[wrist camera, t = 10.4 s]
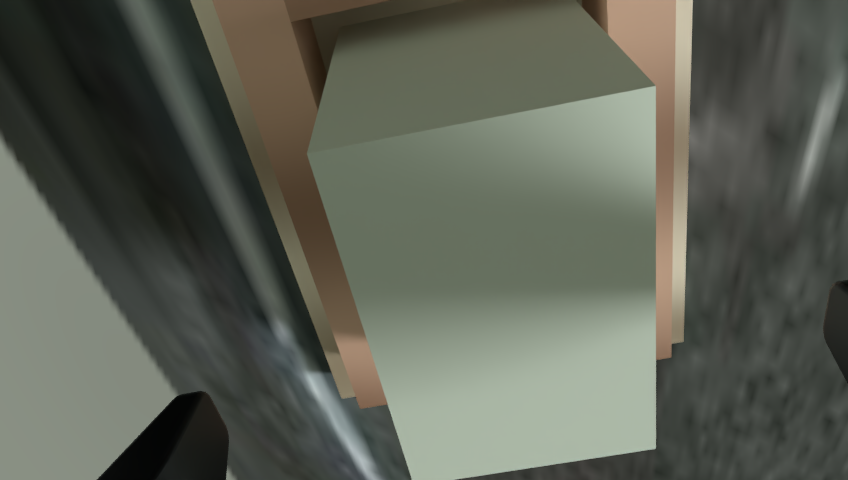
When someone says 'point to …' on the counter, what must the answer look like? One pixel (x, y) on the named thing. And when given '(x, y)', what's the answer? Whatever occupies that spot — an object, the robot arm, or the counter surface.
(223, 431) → the robot arm
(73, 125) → the counter surface
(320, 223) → the pink and beige box
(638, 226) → the sage block
